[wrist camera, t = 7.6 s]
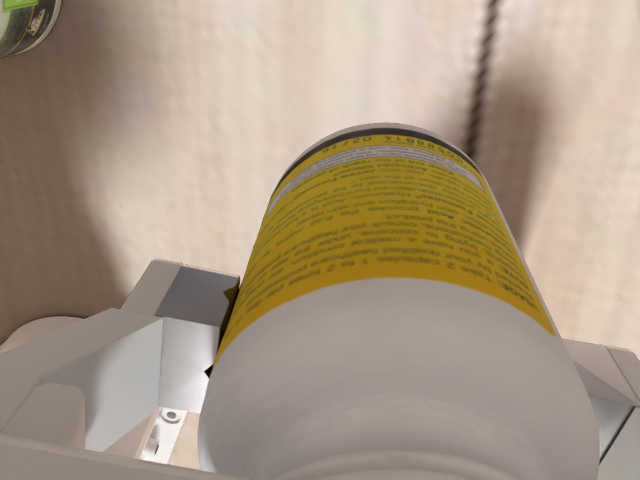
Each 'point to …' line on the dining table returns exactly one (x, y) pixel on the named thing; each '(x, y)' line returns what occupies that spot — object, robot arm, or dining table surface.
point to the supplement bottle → (392, 330)
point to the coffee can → (25, 24)
